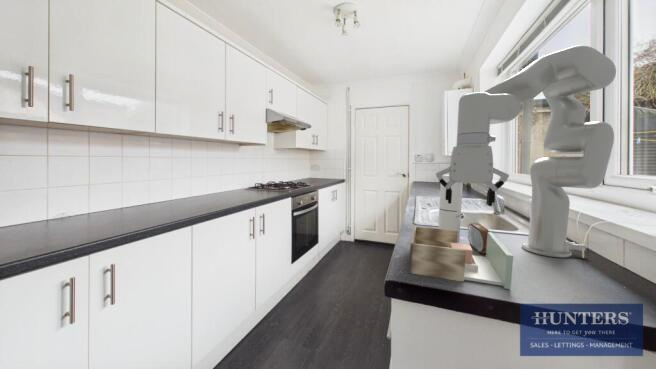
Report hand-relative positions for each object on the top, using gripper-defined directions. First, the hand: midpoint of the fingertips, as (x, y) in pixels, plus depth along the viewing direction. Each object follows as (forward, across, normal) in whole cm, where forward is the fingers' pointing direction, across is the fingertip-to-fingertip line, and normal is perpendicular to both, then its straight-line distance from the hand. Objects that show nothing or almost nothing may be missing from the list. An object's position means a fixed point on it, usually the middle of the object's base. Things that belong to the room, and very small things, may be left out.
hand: (468, 204), depth 70 cm
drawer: (+18, -1, 0) cm, 18 cm away
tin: (+18, -6, -19) cm, 27 cm away
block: (+17, +1, 0) cm, 17 cm away
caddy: (+18, +8, 0) cm, 20 cm away
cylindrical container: (+18, +3, -22) cm, 29 cm away
